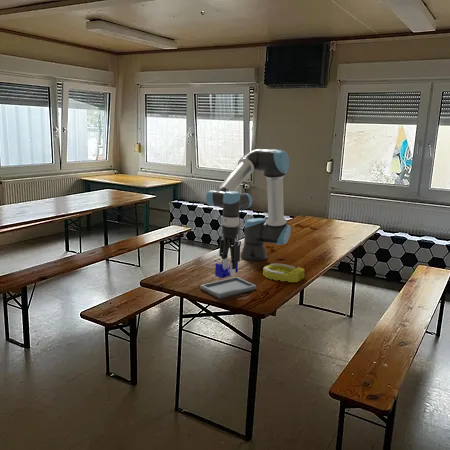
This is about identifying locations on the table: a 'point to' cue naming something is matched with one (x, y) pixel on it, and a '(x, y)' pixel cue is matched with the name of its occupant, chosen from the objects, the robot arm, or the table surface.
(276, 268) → the yellow rounded low piece
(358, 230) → the table surface
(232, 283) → the tray
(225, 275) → the blue long stepped piece
